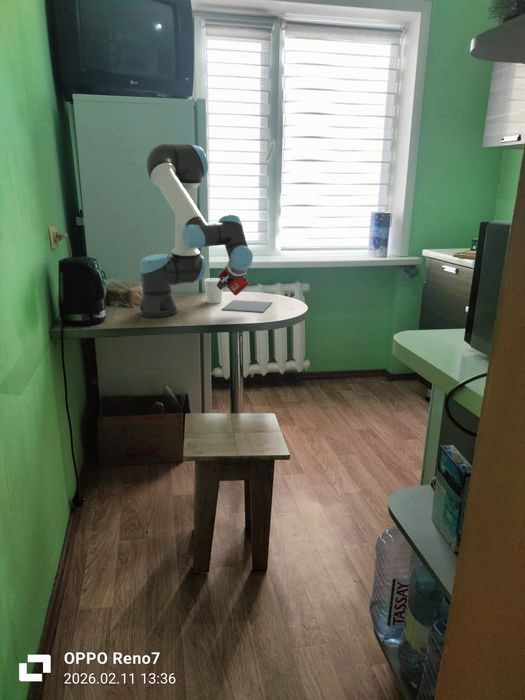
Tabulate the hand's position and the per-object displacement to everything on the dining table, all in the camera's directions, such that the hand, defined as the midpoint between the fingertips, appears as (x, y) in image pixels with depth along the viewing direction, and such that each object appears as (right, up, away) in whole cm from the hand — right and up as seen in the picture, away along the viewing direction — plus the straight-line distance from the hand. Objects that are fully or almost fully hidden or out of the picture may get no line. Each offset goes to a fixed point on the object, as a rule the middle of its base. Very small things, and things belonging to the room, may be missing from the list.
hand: (230, 279), depth 204 cm
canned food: (+5, -5, -4) cm, 8 cm away
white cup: (-9, -8, +17) cm, 20 cm away
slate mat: (+7, -10, +8) cm, 15 cm away
